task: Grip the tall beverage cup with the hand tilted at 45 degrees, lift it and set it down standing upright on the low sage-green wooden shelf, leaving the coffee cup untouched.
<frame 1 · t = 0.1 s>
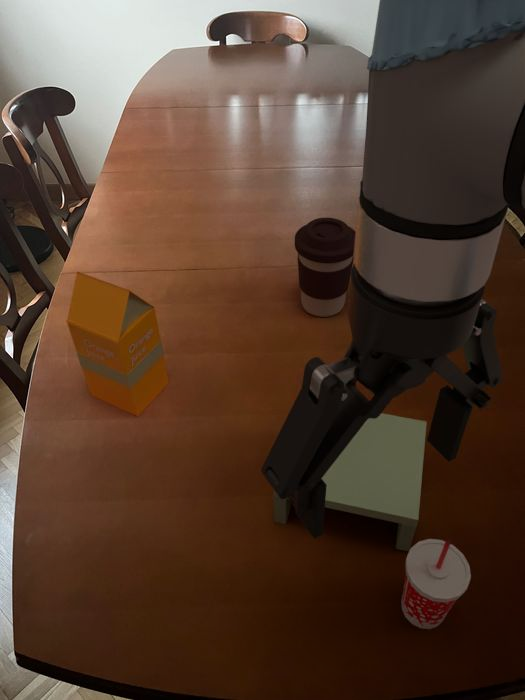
hand: (378, 484, 48), 23 cm above the table, tool pointing down, fingers open, 13 cm apart
orange juice: (130, 389, 88), on the table
beverage cup: (422, 607, 63), on the table
shelf: (349, 487, 74), on the table
coffee cup: (322, 305, 101), on the table
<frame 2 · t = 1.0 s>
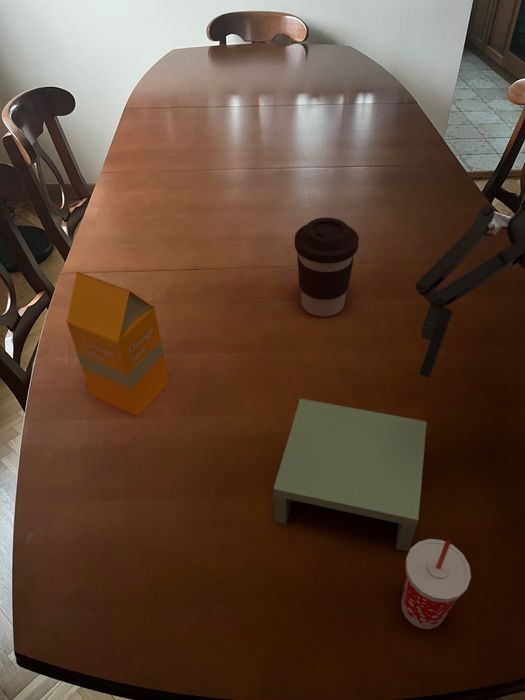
hand: (498, 401, 53), 24 cm above the table, tool tilted 45°, fingers open, 13 cm apart
nothing on the table moved.
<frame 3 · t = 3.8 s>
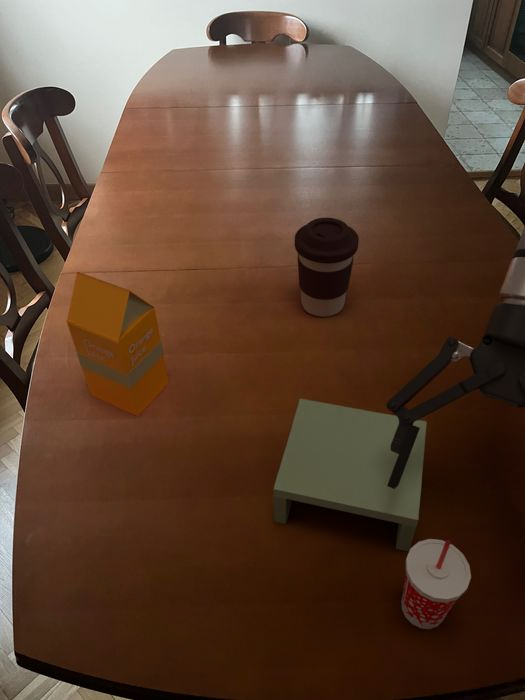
hand: (457, 515, 58), 11 cm above the table, tool tilted 45°, fingers open, 13 cm apart
nothing on the table moved.
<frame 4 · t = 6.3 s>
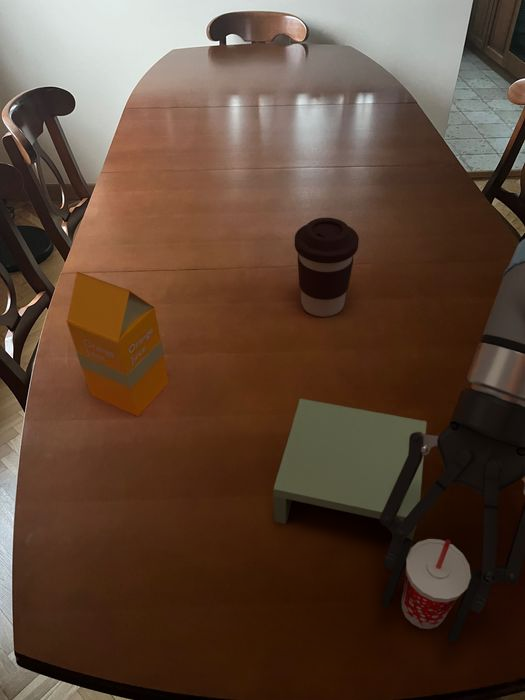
hand: (418, 618, 58), 5 cm above the table, tool tilted 45°, fingers closed on beverage cup, 6 cm apart
beverage cup: (422, 607, 63), on the table, touching gripper
everything else where it was.
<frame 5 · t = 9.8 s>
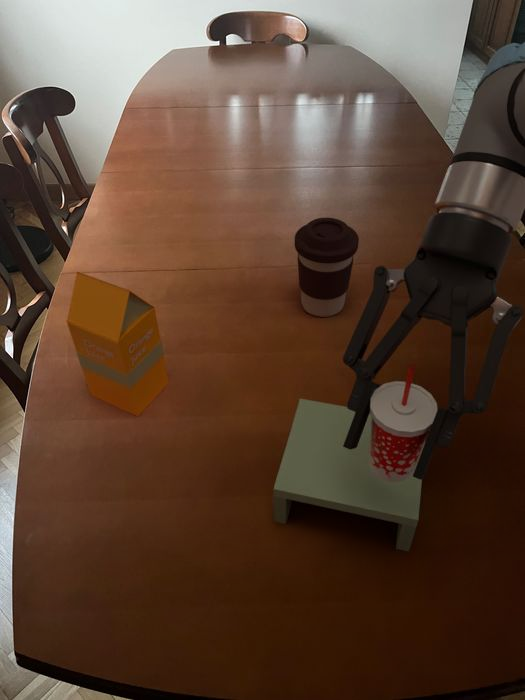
hand: (383, 461, 55), 19 cm above the table, tool tilted 45°, fingers closed on beverage cup, 6 cm apart
beverage cup: (391, 464, 60), point 14 cm above the table, touching gripper
everything else where it was.
when the fingers open (12 cm above the table, at t = 13.1 s): beverage cup stays where it is, resting on shelf.
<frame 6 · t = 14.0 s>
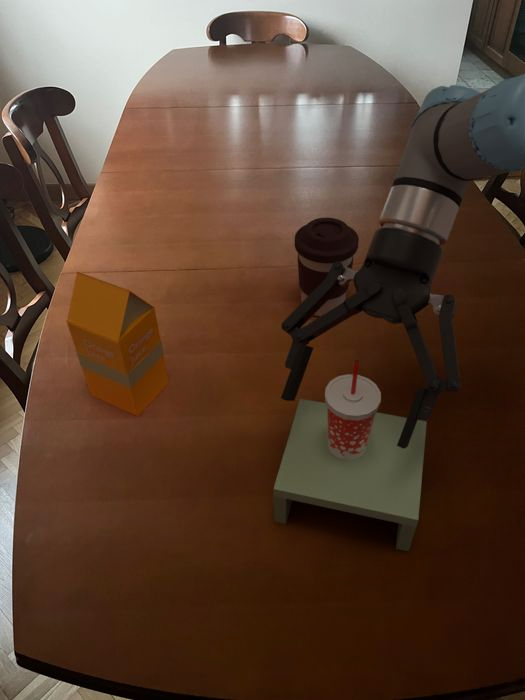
hand: (342, 422, 64), 14 cm above the table, tool tilted 45°, fingers open, 13 cm apart
beverage cup: (346, 445, 71), point 7 cm above the table, touching shelf
everything else where it was.
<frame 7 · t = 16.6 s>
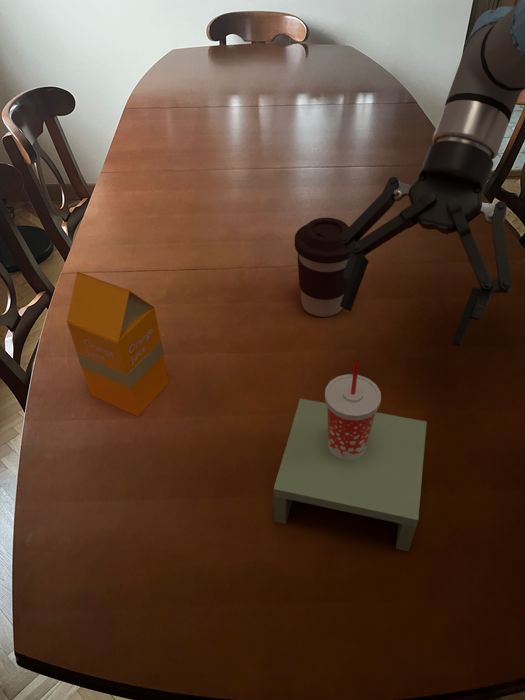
hand: (398, 326, 69), 18 cm above the table, tool tilted 45°, fingers open, 13 cm apart
nothing on the table moved.
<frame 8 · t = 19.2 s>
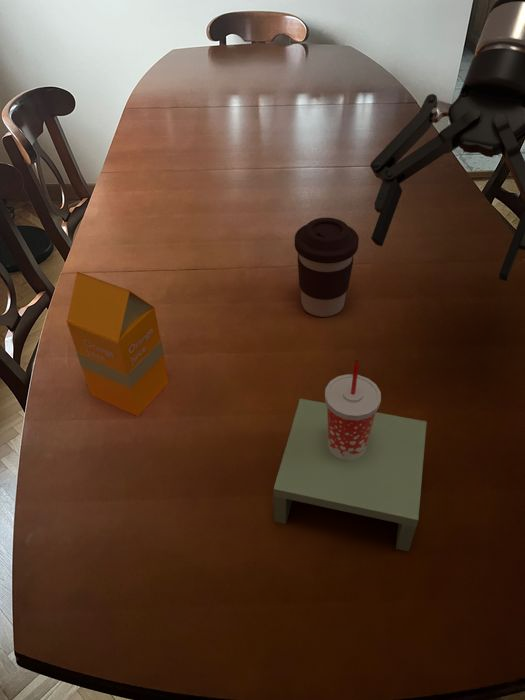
hand: (437, 259, 62), 28 cm above the table, tool tilted 45°, fingers open, 13 cm apart
nothing on the table moved.
at the end: beverage cup inside the target area on the shelf (1.5 cm from its centre), point 6.8 cm above the shelf's base; beverage cup tilted 0°; coffee cup moved 0.2 cm from its start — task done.
